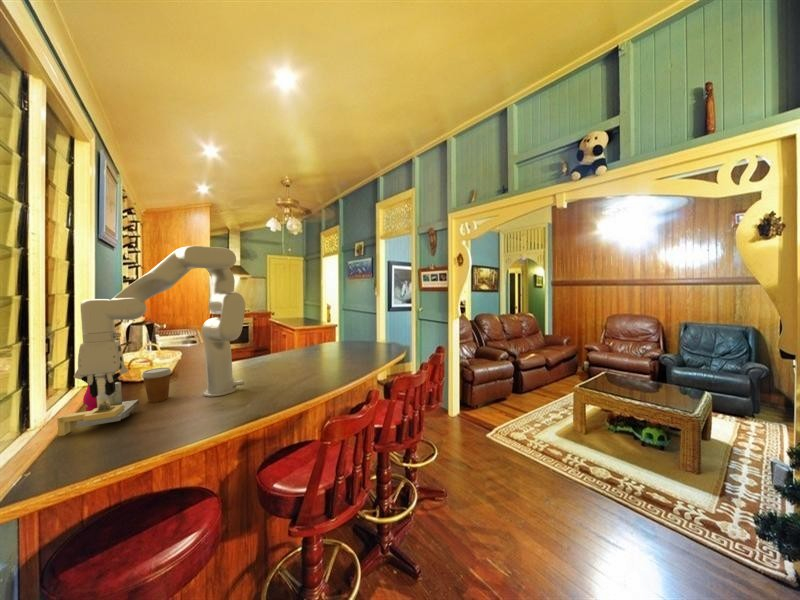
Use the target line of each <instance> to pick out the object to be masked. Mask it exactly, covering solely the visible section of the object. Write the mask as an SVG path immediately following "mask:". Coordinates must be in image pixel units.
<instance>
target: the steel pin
mask: <svg viewBox="0 0 800 600" xmlns="http://www.w3.org/2000/svg"><path fill="white" fill-rule="evenodd" d="M94 377H95V379H96V394H97V409H98V411H104V410H108V409H110V395H107V388H106V384H107V383H108V377H107V373H98V374H95V375H94Z"/></svg>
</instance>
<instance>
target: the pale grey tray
mask: <svg viewBox="0 0 800 600" xmlns="http://www.w3.org/2000/svg"><path fill="white" fill-rule="evenodd" d="M122 393H123V392H122V382H121V381H115V391H114V393H113V394H111V395H110V406H116V405H123V404H124V409H123V410H122V411H121V412H119V413H118V414H117V415H116V416H115V417H109V418H102V419H96V420H89V421H83V419H82V420H78V421H77V422H76V423H77V426H76V427H77V428H83V427H88V426H96V425H102V424H108V423H114V422H120V421H122V420H124V419H126V417H127V418H128V417H130V412H131V411H132V410H134V409H135V408H136V407H137V406H138V405H140V401H139V399H135V400H126V401H123V395H122ZM121 419H122V420H121Z"/></svg>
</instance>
